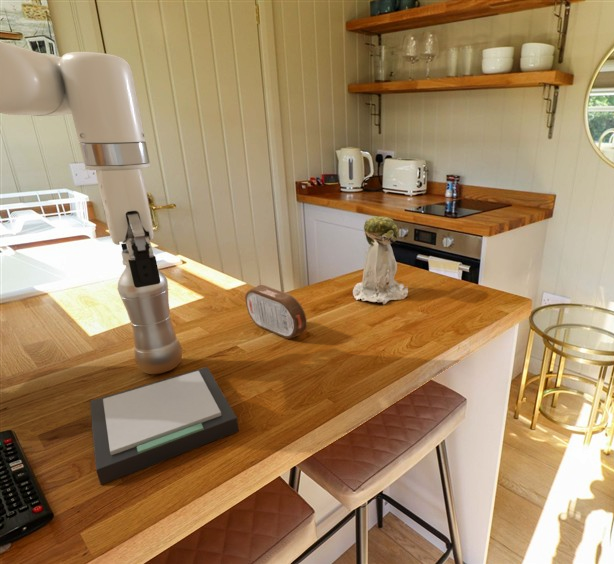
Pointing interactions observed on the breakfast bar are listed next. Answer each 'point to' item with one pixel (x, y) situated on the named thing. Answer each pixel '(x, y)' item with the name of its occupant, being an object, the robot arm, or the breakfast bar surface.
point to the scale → (158, 422)
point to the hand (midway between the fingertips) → (143, 275)
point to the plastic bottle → (150, 322)
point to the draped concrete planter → (380, 263)
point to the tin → (276, 311)
